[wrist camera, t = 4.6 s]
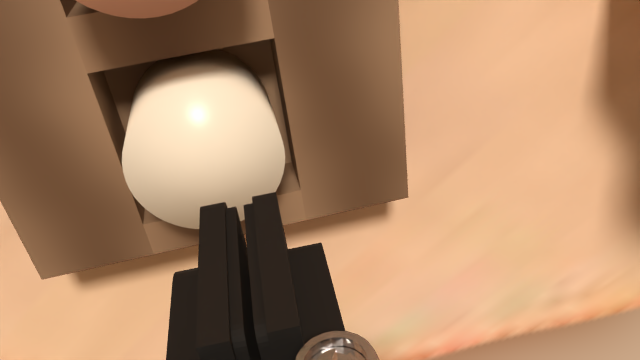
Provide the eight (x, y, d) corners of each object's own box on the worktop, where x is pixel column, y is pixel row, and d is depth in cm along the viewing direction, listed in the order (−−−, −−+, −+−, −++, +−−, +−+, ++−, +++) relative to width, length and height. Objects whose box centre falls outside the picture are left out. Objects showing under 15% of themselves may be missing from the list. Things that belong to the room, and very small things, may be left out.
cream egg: (256, 35, 18) (270, 73, 15) (280, 157, 21) (296, 210, 18) (112, 62, 18) (98, 107, 15) (154, 184, 20) (148, 243, 17)
